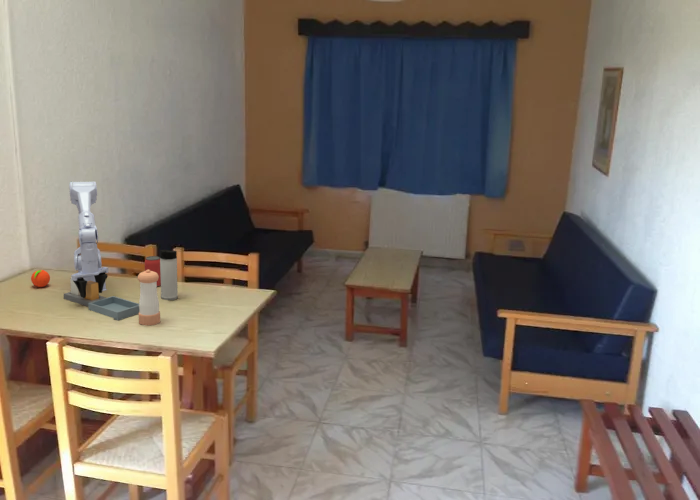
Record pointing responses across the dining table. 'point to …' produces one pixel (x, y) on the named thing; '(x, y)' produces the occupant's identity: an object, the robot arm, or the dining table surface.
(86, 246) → the robot arm
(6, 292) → the dining table surface
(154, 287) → the pepper shaker
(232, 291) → the dining table surface
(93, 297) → the orange rectangular block
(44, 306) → the dining table surface
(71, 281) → the fuse
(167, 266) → the travel mug
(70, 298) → the block
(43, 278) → the clementine
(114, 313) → the parts tray
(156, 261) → the beer can
